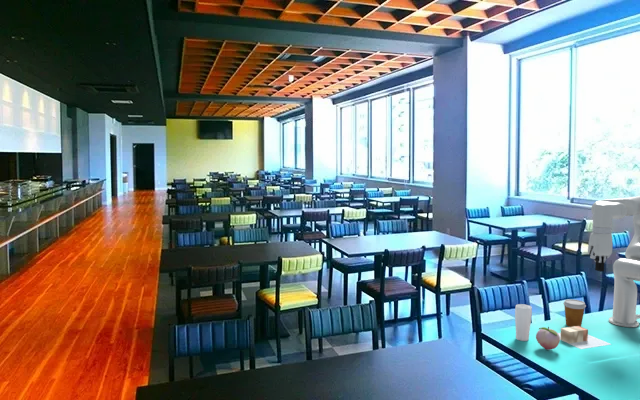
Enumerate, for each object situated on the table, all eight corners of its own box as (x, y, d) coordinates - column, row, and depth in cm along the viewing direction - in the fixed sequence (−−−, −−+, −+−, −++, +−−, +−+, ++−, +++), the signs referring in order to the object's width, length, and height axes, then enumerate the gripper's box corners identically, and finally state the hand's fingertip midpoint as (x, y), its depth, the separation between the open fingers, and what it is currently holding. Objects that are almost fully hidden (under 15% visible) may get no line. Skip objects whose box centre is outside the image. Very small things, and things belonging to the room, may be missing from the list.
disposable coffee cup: (588, 330, 235) (590, 305, 234) (568, 329, 235) (569, 304, 234) (578, 323, 244) (579, 299, 243) (558, 323, 245) (559, 298, 243)
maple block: (578, 325, 224) (561, 328, 221) (588, 329, 220) (570, 332, 216) (578, 336, 225) (560, 339, 222) (587, 340, 220) (569, 343, 217)
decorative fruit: (564, 351, 210) (565, 327, 209) (552, 355, 205) (554, 331, 204) (543, 344, 217) (544, 321, 216) (531, 348, 213) (532, 325, 212)
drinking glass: (532, 339, 223) (534, 306, 222) (527, 343, 218) (528, 309, 217) (517, 335, 228) (518, 303, 226) (511, 339, 223) (512, 306, 221)
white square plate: (577, 331, 233) (577, 330, 233) (611, 345, 216) (611, 344, 216) (548, 335, 228) (548, 334, 227) (580, 350, 211) (580, 349, 211)
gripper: (607, 228, 233) (604, 267, 235) (582, 230, 228) (579, 270, 230) (621, 231, 226) (619, 271, 227) (596, 232, 221) (593, 273, 223)
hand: (599, 270), depth 229 cm, fingers closed
